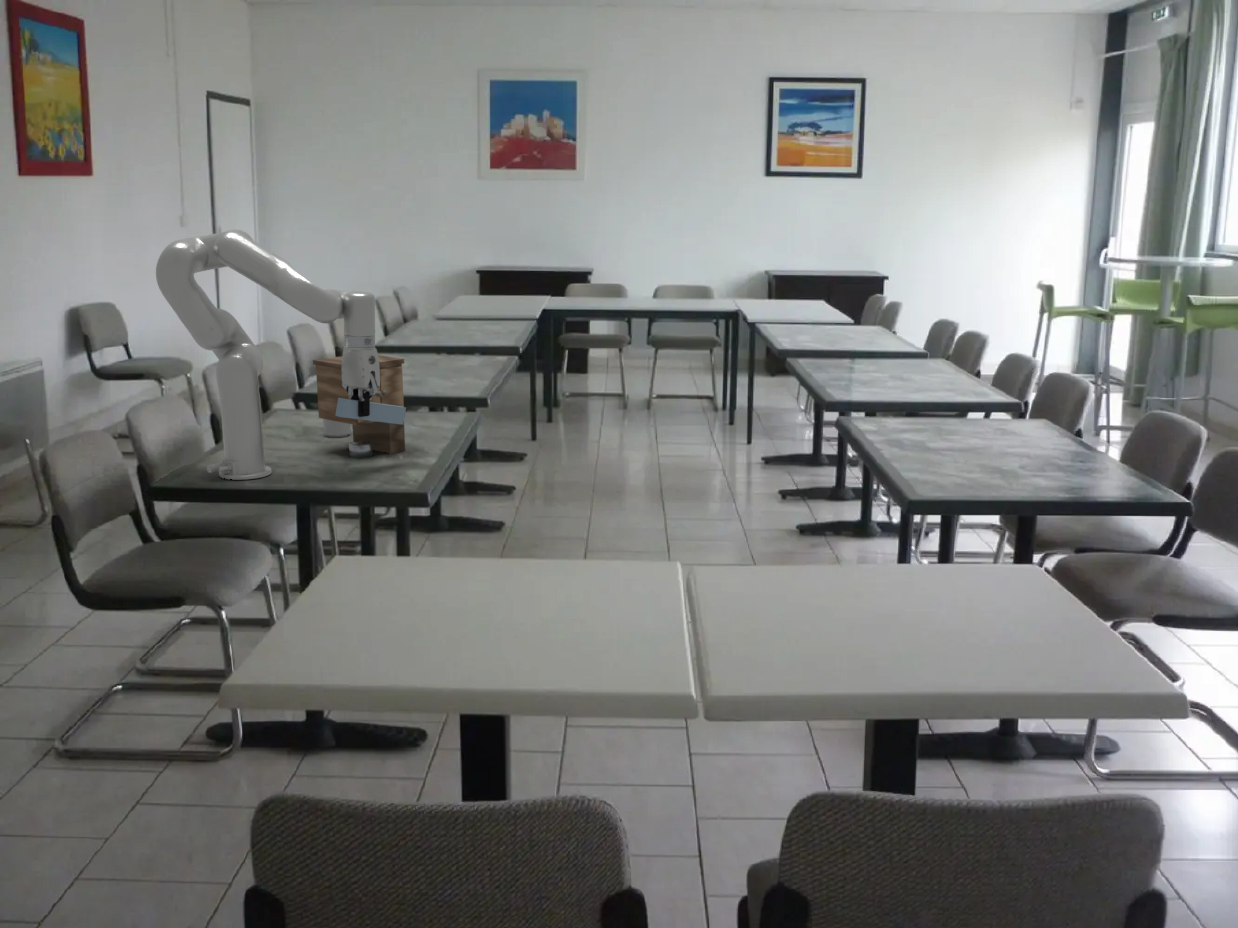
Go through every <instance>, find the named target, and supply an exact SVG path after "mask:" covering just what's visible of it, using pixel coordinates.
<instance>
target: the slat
mask: <svg viewBox="0 0 1238 928" xmlns="http://www.w3.org/2000/svg"><path fill="white" fill-rule="evenodd" d="M406 410H407V407H405V406H404V407H401V406H395V405H388V404H380V403H373V402H370V415H369V416H364V417H359V416H358V400H351V399H344V398H338V403H337V409H336V415H335V416H339V417H344V418H352V419H360V420H369V421H377V422H385V423H393V424H402V425H403V423H404V424H405V418H406V417H405V416H406V412H407V411H406Z"/></svg>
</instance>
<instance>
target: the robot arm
mask: <svg viewBox="0 0 1238 928" xmlns="http://www.w3.org/2000/svg"><path fill="white" fill-rule="evenodd" d="M227 267H228V268H229V269H232V270H233V271H235V272H237V273H238V274H241V275H242V276H243V277H245V278H247V279H248V280H250V281H252V282H253V283H255V284H256V285H259V286H260V287H262V288H263V289H265V290H267V291H268V292H270V294H272V295H273V296H275V297H277V298H279V300H281V301H283V302H284V303H286V304H287V305H288V306H290V307H292V308H293V309H295V310H296V311H298V312H300V313H302V314H303V315H305V316H307V317H308V318H311V319H312V320H314V321H316V322H318V323H321V324H330V323H333V322H335V321H337V319H340V320H341V319H343V335H344V336H343V349H342V350H343V351H342V355H341V356H342V382H343V383H342V386H343V387H344V388H345V389H346V390H347V392H348V397H349V399H351V400H358V416H359V417H364V416H369V415H370V400H371V397H372V396H373V395H374V394H376V393H377V392H378V389H377V388H378V387H379V386H380V368H379V359H378V355H379V353H378V350H377V349H378V348H376V299H375V295H374V294H373V293H372V292H370V291H369V292H368V291H344V290H343V291H341V290H336V289H330V288H328V289H324V288H321V287H320V286H318V285H317V284H314V283H313V282H311V281H309V280H308V279H307V278H305V277H304V276H302V275H301V274H300V273H299V272H297V271H296V269H295V268H293V266H292V265H291V264H290V263H289V262H288V261H287V260H286V259H284V258H283V257H281V255H278V254H276V253H275V252H274V251H271V250H269V249H267V248H266V247H264V246H262V245H261V244H259V243H258V242H256V241H254V239H253V238H252V237H251V235H250V234H249V233H247V232H246V231H244V230H241V229H237V228H236V229H230V230H226V231H222V232H216V233H211V234H206V235H199V236H194V237H187V238H182V239H177V240H174V241H172V242H170V243H169V244H168V245H166V246H165V248H164V249H163V250H162V251H161V253H160V254H159V257H158V259H157V262H156V267H155V278H156V283H157V286H158V288H159V291H160V292H161V295H162V296H163V297H164V299H165V300H166V302H167V304H168V305H169V306H170V307H171V308H172V310H173V311H174V313H175V314H176V316H177V318H178V319H179V320H180V322H181V323H182V324H183V326H184V328H185V329H186V331H188V333H189V334H190V336H192V339H193V340H194V341H195V343H196V344H197V345H198V346H199V347H200V348H202V349H204V350H206V351H212V352H213V354H214V355H215V356H216V358H217V359H218V362H217V363H216V370H215V373H216V381H217V389H218V395H219V404H220V415H221V428H222V440H223V441H222V442H223V443H222V444H223V455H224V457H221V458H220V461H219V462H218V463H216V464H215V463H213V464H209V465H207V466H206V469H207V470H206V471H207V473H209V474H212V473H217V472H218V475H219V477H220V478H222V479H224V478H225V480H230V479H232V481H233V480H234V481H235V480H236V481H240V480H241V481H244V480H254V479H255V480H256V479H260V478H264V477H268V476H269V475H272V472H273V471H272V467H270V466H269V465H266V464H265V463H266V462H265V451H264V446H265V445H264V435H263V434H264V433H263V432H264V431H263V420H262V419H263V418H262V407H261V406H262V405H261V396H260V395H261V394H260V389H259V388H260V387H259V376H260V374H261V373H262V370H263V367H264V359H263V356H262V354H261V352H260V350H259V349H258V348H257V346H256V345H255V343H254V342H253V341H252V339H251V338H250V336H249V335H248V334H247V333H246V331H245V330H244V328H243V327H242V325H241V324H240V323H239V321H238V320H237V318H235V317H234V315H232V314H231V312H229V311H227V310H225V309H222V308H217V307H216V306H215V304H214V303H213V302H212V300H211V299H210V298H209V296H208V295H207V293H206V292H205V291H204V289H203V288H202V287H201V286H200V285H199V284H198V282H197V281H196V280H195V274H196V273H200V272H205V271H211V270H215V269H222V268H227ZM364 391H366V392H365V393H364ZM359 397H360V398H359Z"/></svg>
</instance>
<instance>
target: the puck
mask: <svg viewBox="0 0 1238 928" xmlns="http://www.w3.org/2000/svg"><path fill="white" fill-rule="evenodd" d="M348 449H349V450H348V451H349V454H348V455H349V457H350V458H352V459H367V458H371V457H372V456H373V450H372V442H369V441H355V442H353V441H352V442H349V443H348Z"/></svg>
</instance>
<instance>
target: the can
mask: <svg viewBox="0 0 1238 928" xmlns="http://www.w3.org/2000/svg"><path fill="white" fill-rule="evenodd" d="M322 421H323V433H324V434H325V436H326V437H328V438H336V439H337V438H338V439H339V438H345V437H347V436H349V435H350V433H351V431H352V430H351V429H352V428H351V424H347V423H342V422H337V421H332V420H327V419H323V420H322Z"/></svg>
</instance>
